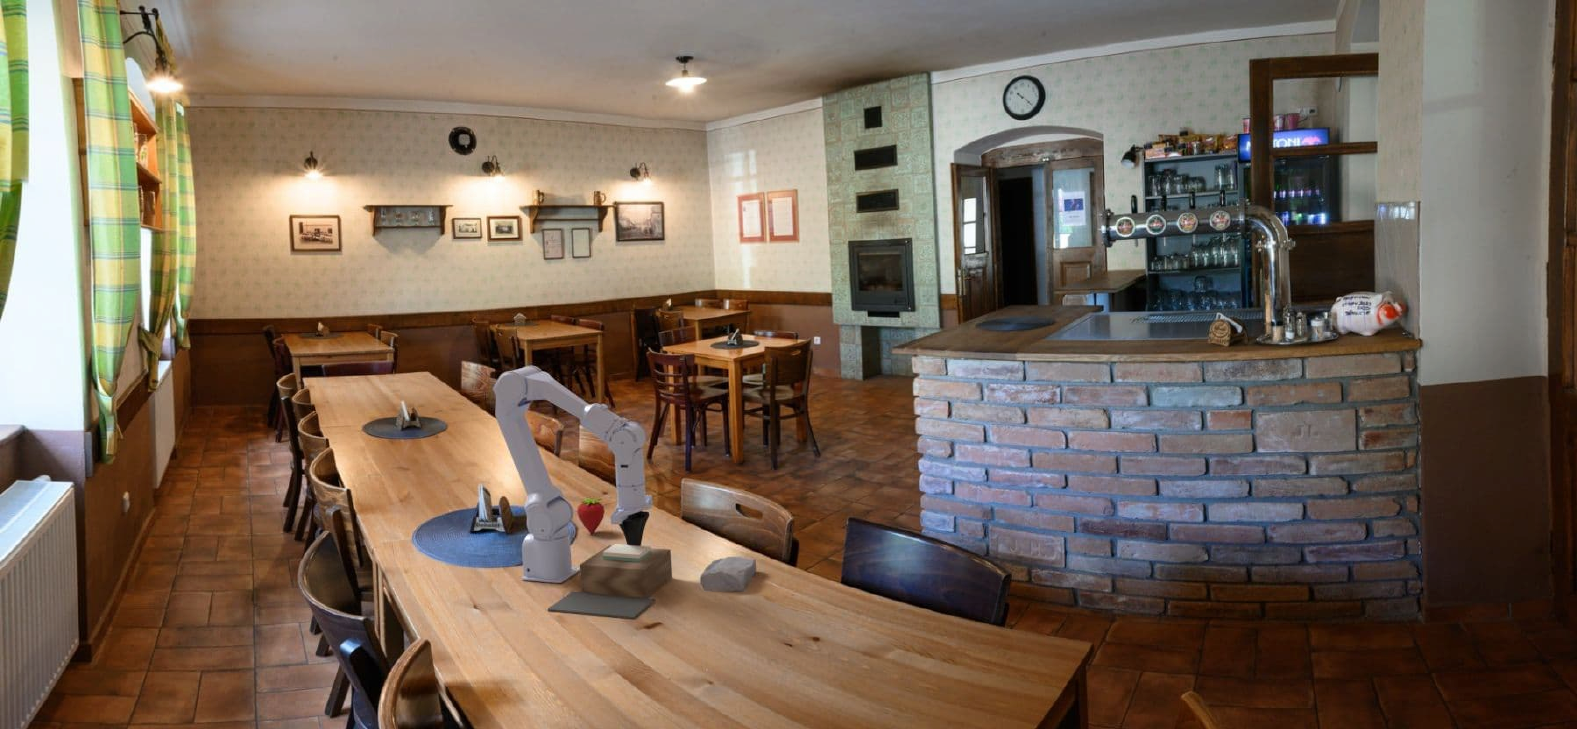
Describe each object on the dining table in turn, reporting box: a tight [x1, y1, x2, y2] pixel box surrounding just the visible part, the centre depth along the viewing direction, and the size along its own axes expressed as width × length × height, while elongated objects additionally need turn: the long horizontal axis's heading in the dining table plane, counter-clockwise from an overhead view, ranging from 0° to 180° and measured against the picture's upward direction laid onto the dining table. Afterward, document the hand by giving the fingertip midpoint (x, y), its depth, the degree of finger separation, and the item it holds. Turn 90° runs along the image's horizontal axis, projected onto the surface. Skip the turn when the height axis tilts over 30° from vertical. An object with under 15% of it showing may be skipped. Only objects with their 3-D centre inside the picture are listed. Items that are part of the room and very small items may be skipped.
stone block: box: [699, 556, 757, 592], centre depth 185 cm, size 12×5×10 cm
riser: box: [579, 544, 673, 598], centre depth 184 cm, size 14×12×6 cm
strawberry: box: [576, 492, 605, 534], centre depth 219 cm, size 6×8×10 cm
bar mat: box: [547, 590, 656, 620], centre depth 174 cm, size 18×9×1 cm, turn 72°
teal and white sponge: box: [603, 543, 651, 562], centre depth 183 cm, size 8×5×2 cm, turn 72°
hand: (634, 548), depth 187 cm, fingers closed
